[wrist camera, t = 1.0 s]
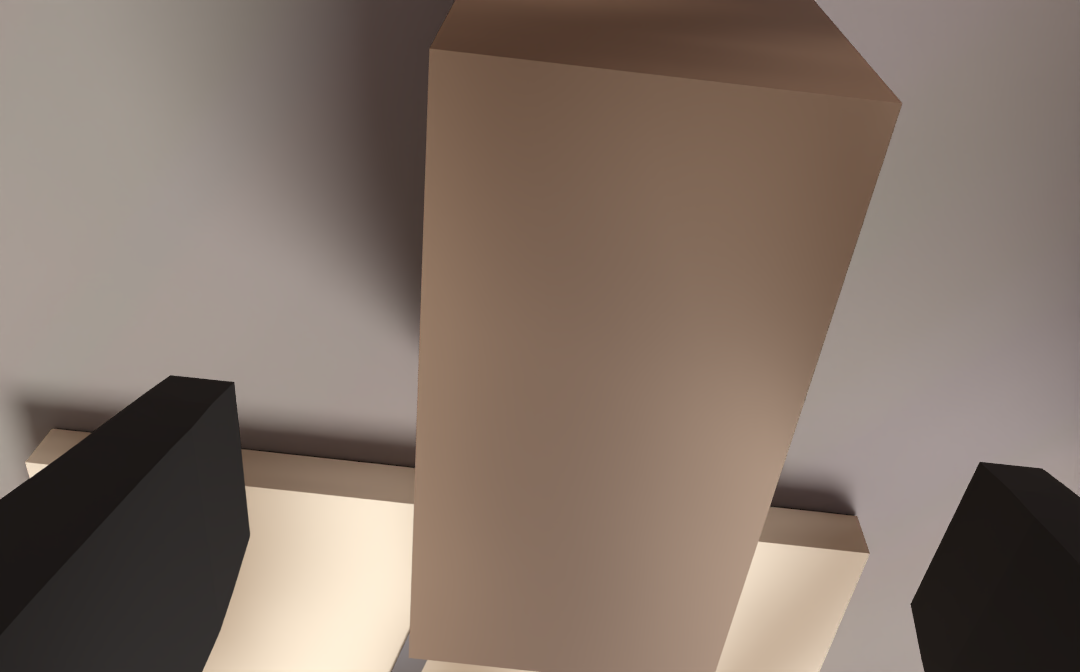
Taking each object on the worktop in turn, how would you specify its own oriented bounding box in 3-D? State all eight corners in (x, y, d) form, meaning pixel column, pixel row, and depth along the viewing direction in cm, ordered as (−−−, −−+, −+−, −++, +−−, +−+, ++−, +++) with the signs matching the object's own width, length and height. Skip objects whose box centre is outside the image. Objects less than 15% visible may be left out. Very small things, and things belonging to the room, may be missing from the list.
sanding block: (780, -40, 13) (902, 103, 8) (675, 411, 17) (709, 689, 12) (494, -74, 13) (429, 48, 8) (463, 387, 17) (408, 657, 12)
